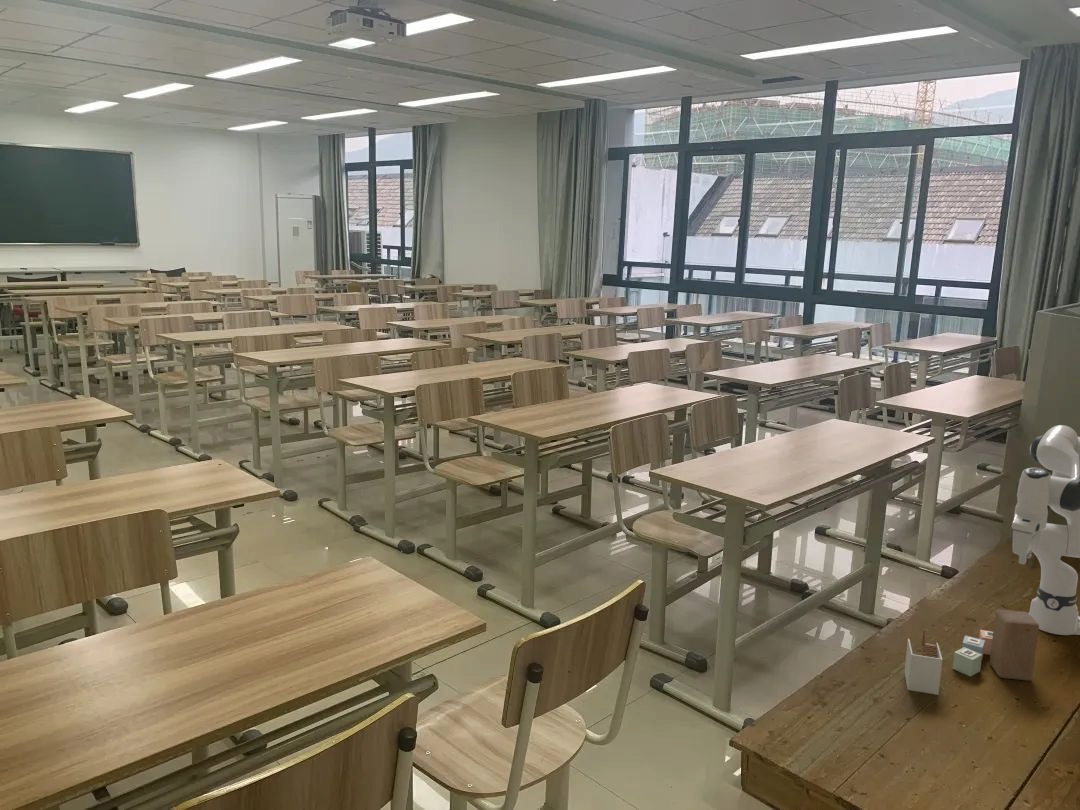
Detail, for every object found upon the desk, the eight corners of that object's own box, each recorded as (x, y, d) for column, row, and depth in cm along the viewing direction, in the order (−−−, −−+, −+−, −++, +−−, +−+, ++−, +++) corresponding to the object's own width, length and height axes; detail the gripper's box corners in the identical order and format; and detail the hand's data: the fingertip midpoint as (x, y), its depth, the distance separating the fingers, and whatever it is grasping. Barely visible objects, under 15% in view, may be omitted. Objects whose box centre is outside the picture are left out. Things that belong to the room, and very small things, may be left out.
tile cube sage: (962, 663, 264) (964, 645, 263) (980, 671, 259) (982, 653, 258) (952, 668, 261) (954, 650, 259) (970, 676, 256) (972, 658, 255)
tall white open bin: (933, 678, 256) (938, 631, 252) (938, 696, 246) (943, 647, 242) (904, 673, 259) (909, 627, 255) (907, 691, 248) (912, 642, 245)
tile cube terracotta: (978, 645, 276) (980, 628, 275) (997, 648, 274) (999, 631, 273) (980, 653, 271) (982, 635, 270) (999, 656, 269) (1002, 639, 267)
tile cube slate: (963, 651, 272) (965, 634, 271) (982, 656, 269) (985, 639, 267) (960, 658, 267) (962, 641, 266) (980, 664, 264) (982, 646, 263)
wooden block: (1032, 682, 253) (1040, 624, 249) (998, 678, 255) (1006, 621, 251) (1020, 666, 262) (1028, 610, 258) (988, 663, 264) (995, 608, 260)
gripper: (1026, 509, 258) (1021, 549, 260) (1010, 524, 243) (1005, 566, 246) (1049, 513, 253) (1043, 554, 256) (1034, 529, 239) (1028, 572, 242)
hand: (1024, 560), depth 251 cm, fingers open, 5 cm apart
